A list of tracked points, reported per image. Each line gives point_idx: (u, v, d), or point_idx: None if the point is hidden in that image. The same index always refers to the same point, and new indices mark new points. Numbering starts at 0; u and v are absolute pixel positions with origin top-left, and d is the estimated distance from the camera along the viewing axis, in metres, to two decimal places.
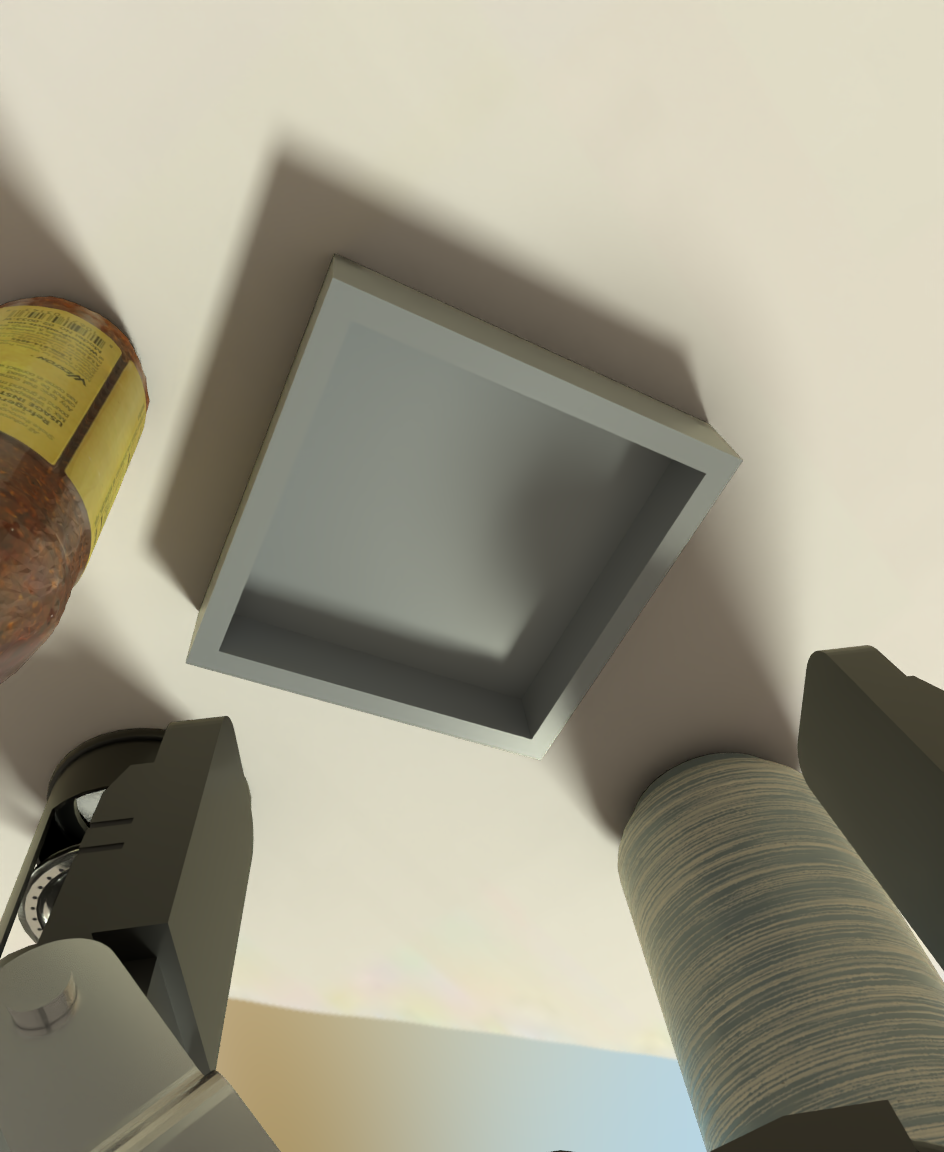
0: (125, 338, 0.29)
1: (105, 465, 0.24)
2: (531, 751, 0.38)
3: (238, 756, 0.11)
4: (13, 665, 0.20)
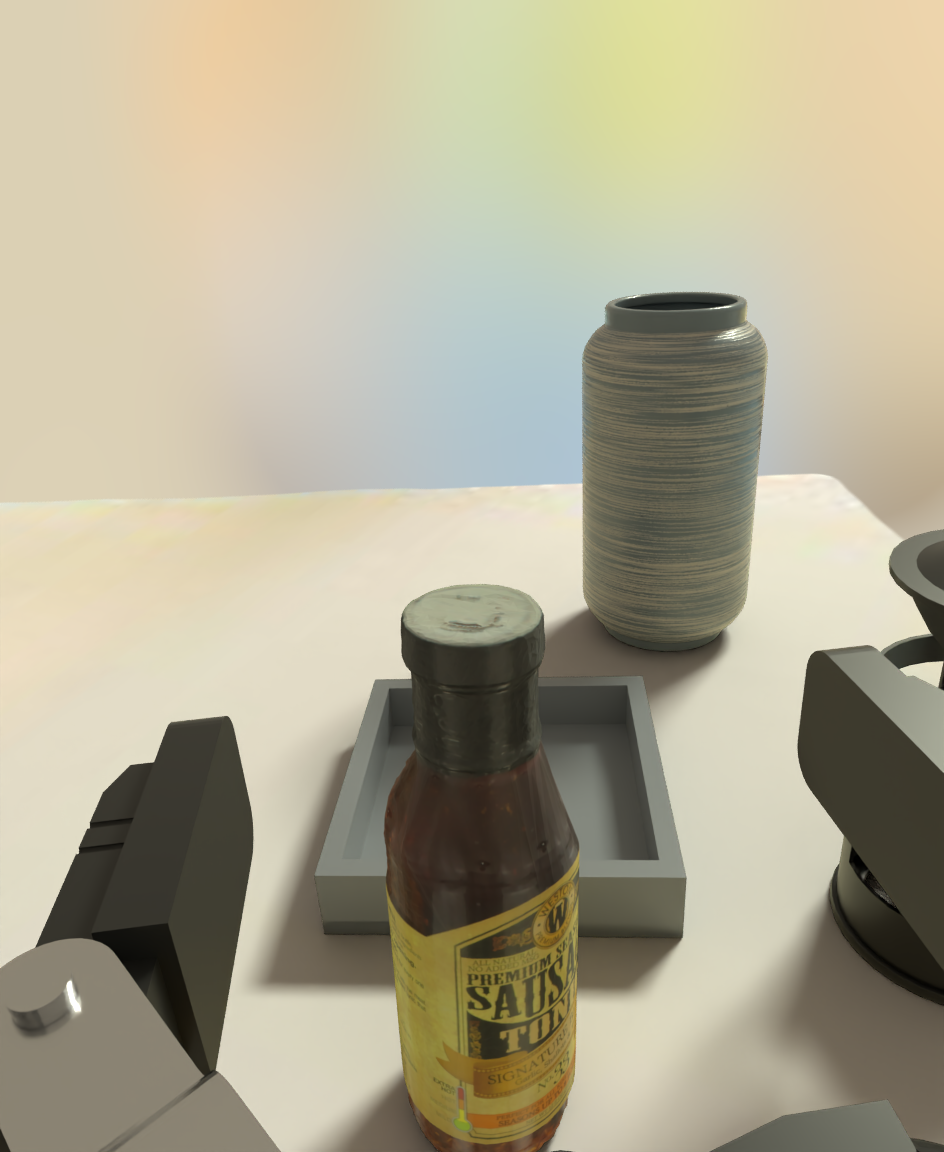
0: None
1: None
2: (637, 682, 0.50)
3: (238, 756, 0.11)
4: None
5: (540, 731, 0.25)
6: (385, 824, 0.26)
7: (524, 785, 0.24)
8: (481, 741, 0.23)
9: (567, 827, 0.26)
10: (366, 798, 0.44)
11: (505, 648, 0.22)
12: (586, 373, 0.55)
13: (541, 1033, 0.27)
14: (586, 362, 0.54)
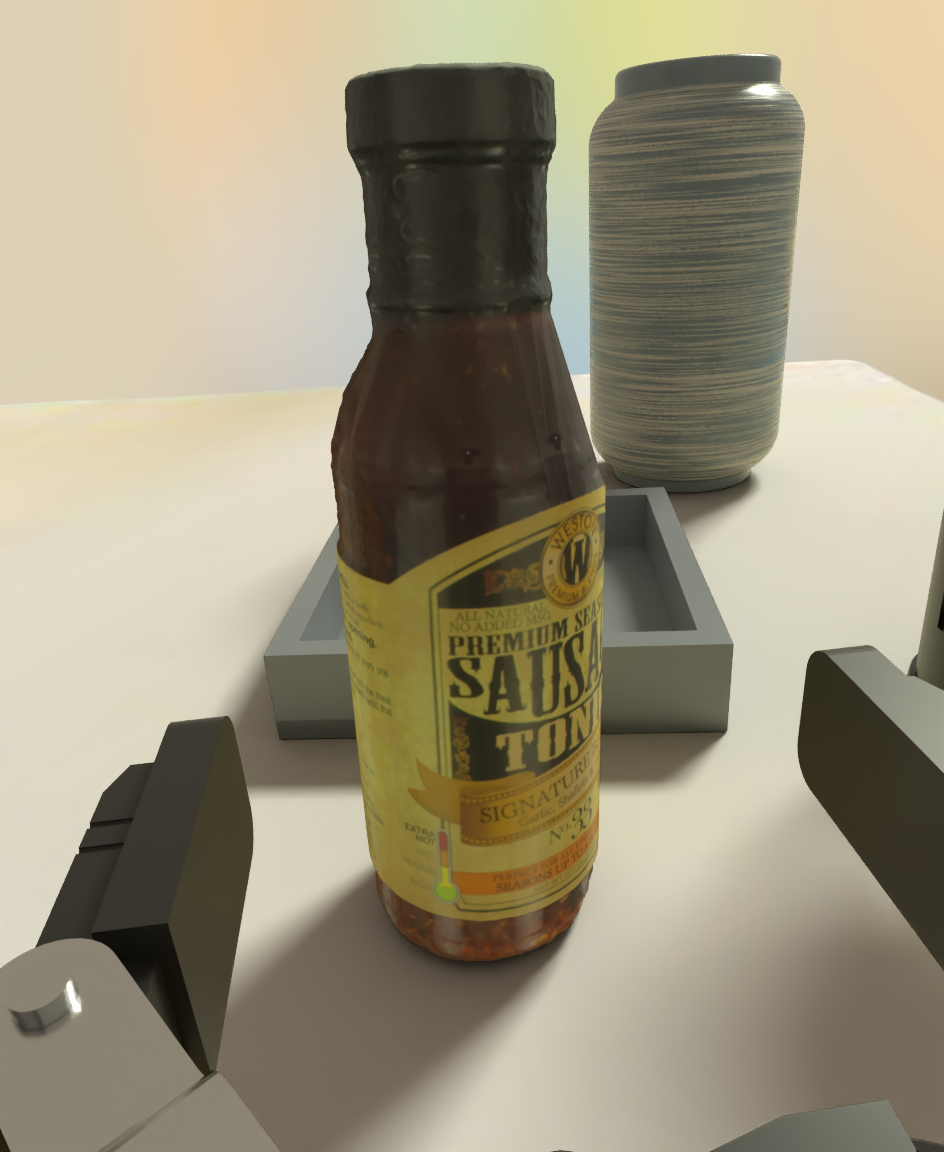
0: None
1: None
2: (658, 491, 0.42)
3: (238, 756, 0.11)
4: None
5: (550, 286, 0.17)
6: (332, 445, 0.18)
7: (528, 343, 0.17)
8: (463, 254, 0.16)
9: (589, 440, 0.18)
10: (335, 602, 0.36)
11: (498, 78, 0.15)
12: (594, 154, 0.47)
13: (555, 749, 0.19)
14: (594, 140, 0.47)
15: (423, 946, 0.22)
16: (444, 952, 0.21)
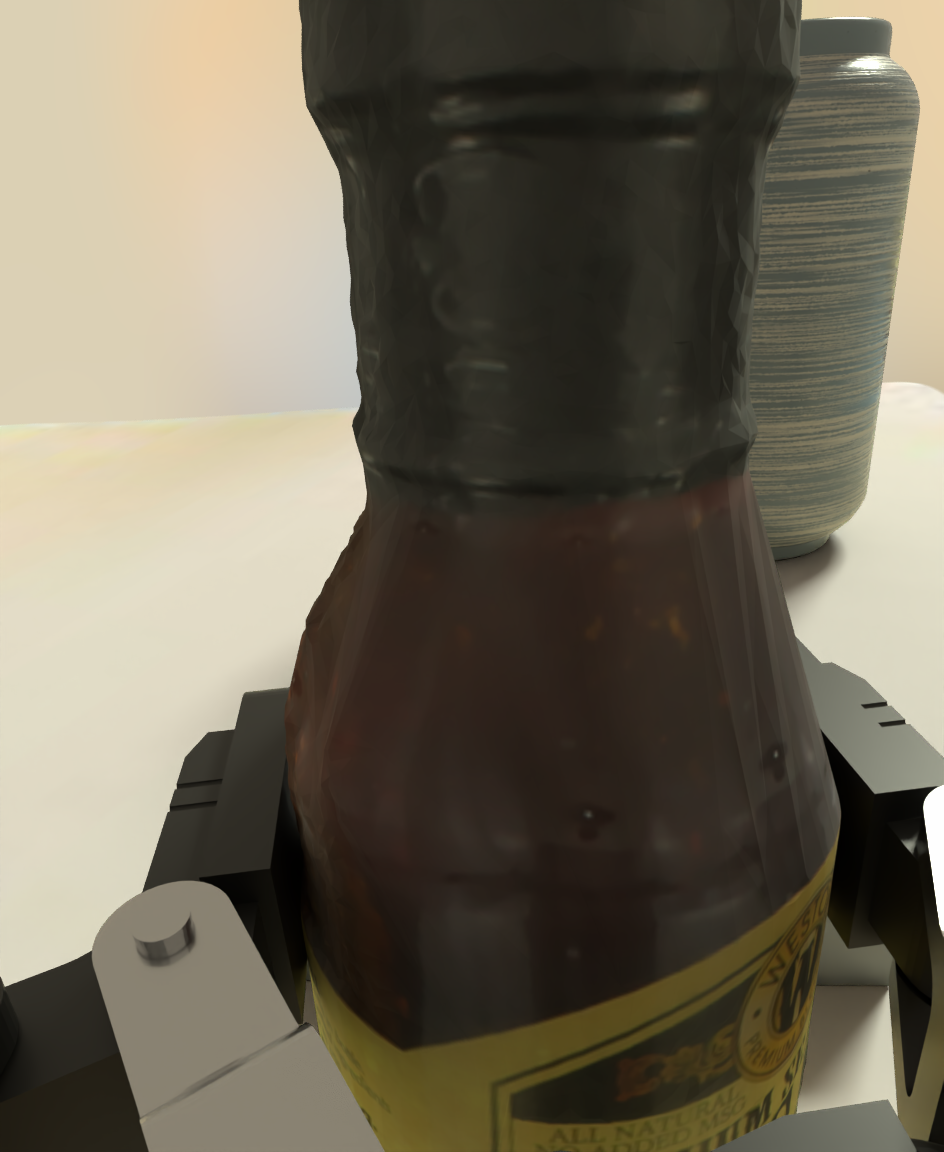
0: None
1: None
2: None
3: None
4: None
5: None
6: (285, 717, 0.09)
7: (723, 553, 0.07)
8: (588, 362, 0.06)
9: (816, 717, 0.09)
10: None
11: None
12: None
13: None
14: None
15: None
16: None
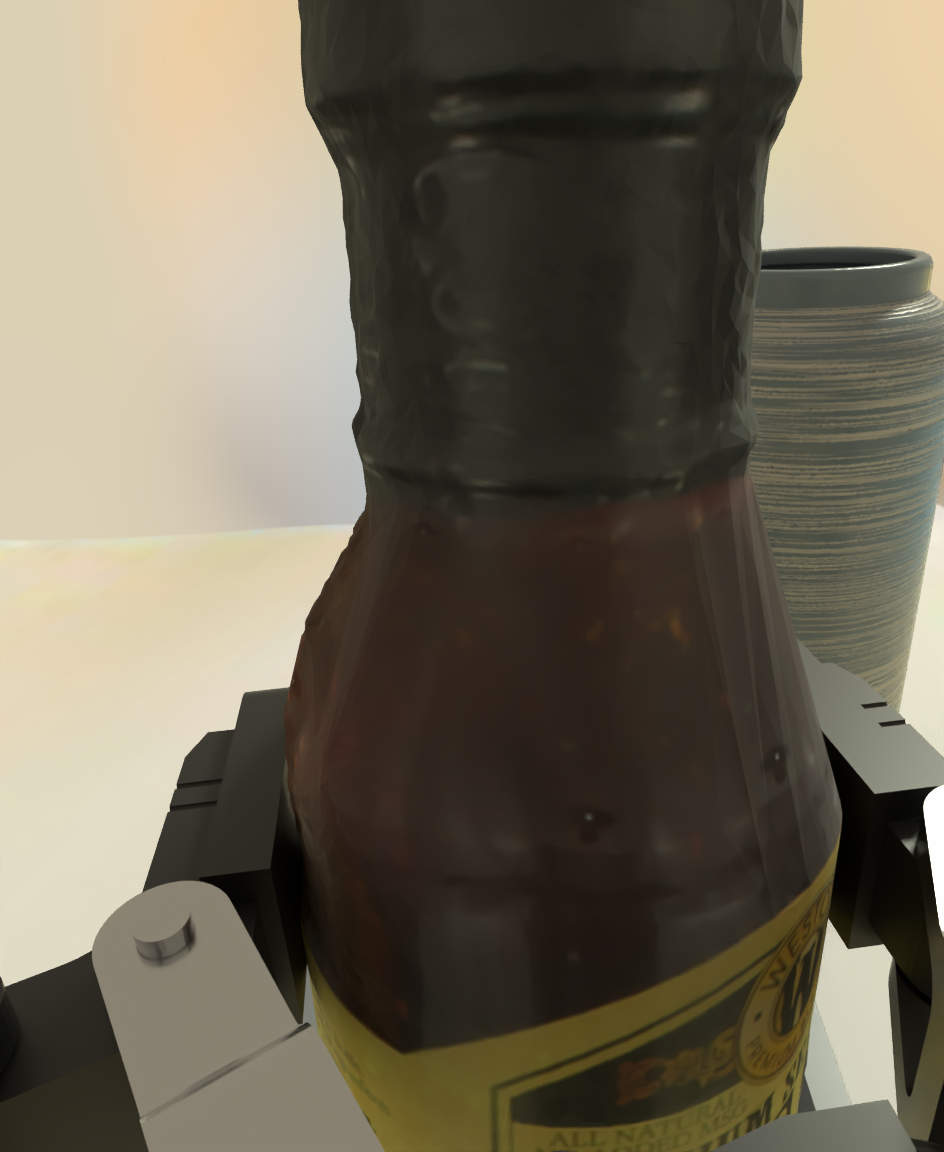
0: None
1: None
2: None
3: None
4: None
5: None
6: (285, 719, 0.09)
7: (724, 554, 0.07)
8: (588, 362, 0.06)
9: (817, 719, 0.09)
10: None
11: None
12: None
13: None
14: None
15: None
16: None
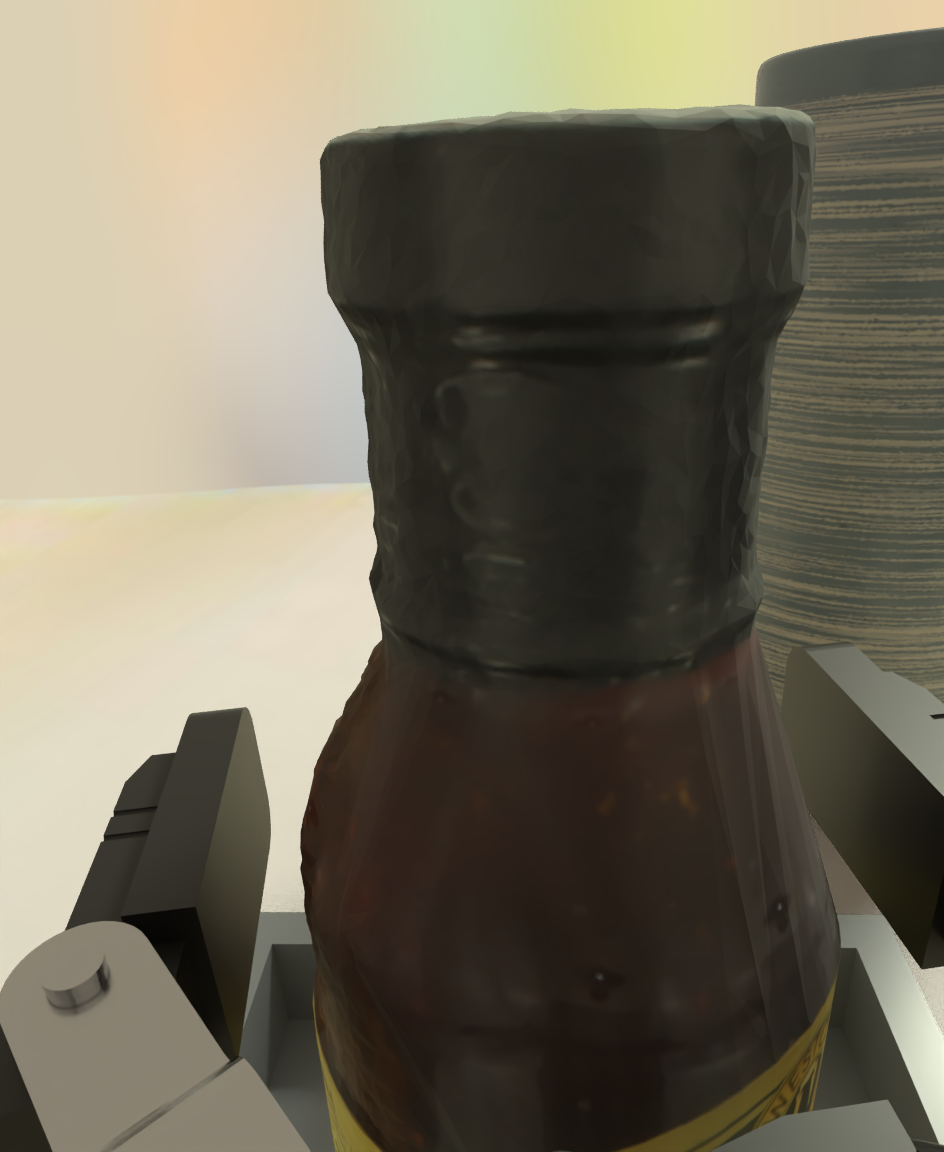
0: None
1: None
2: (879, 936, 0.20)
3: (256, 747, 0.12)
4: None
5: None
6: (302, 845, 0.09)
7: (730, 721, 0.07)
8: (602, 560, 0.07)
9: (817, 849, 0.09)
10: None
11: (722, 150, 0.06)
12: None
13: None
14: None
15: None
16: None
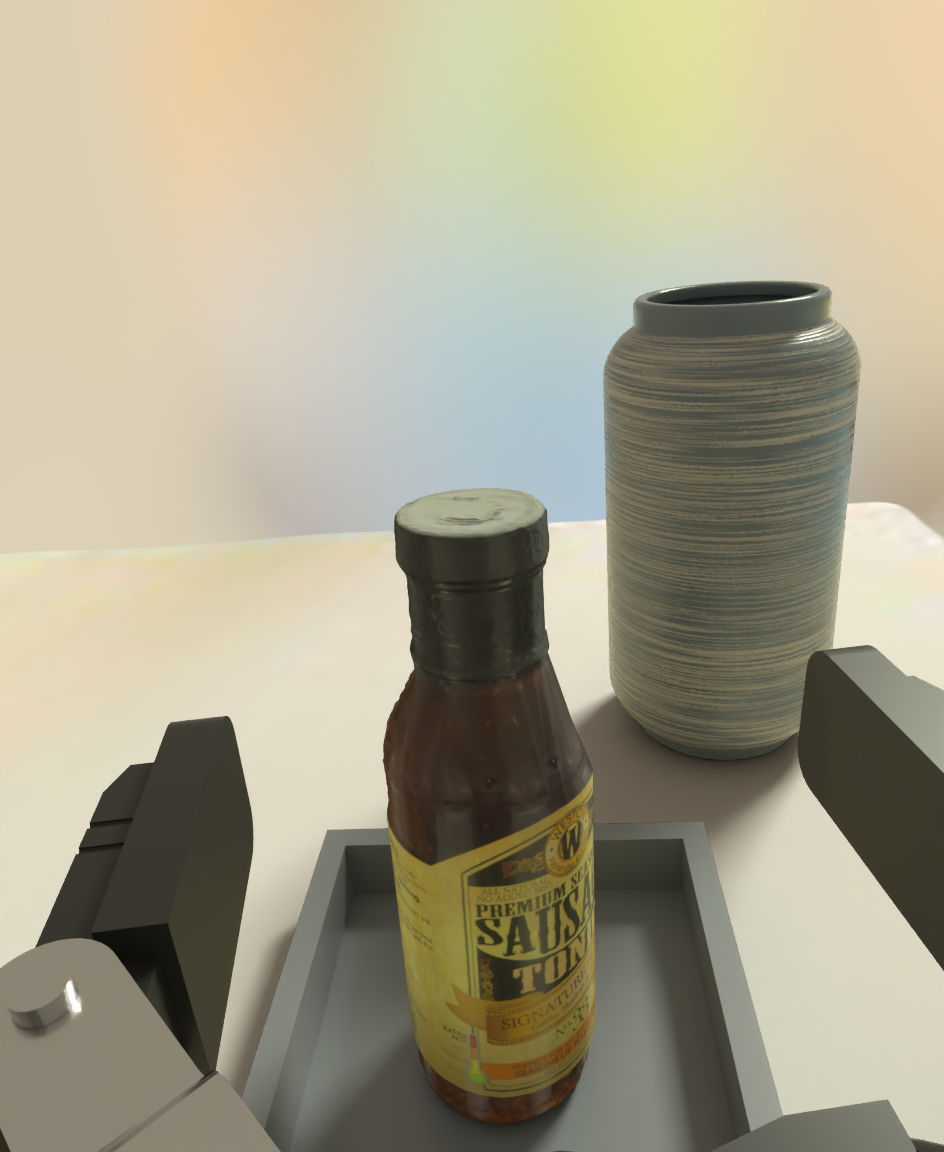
0: None
1: None
2: (697, 832, 0.35)
3: (238, 756, 0.11)
4: None
5: (547, 641, 0.23)
6: (384, 749, 0.24)
7: (531, 696, 0.23)
8: (482, 645, 0.22)
9: (579, 746, 0.24)
10: (301, 1048, 0.29)
11: (506, 540, 0.21)
12: (610, 394, 0.40)
13: (558, 973, 0.25)
14: (609, 379, 0.40)
15: (458, 1111, 0.27)
16: (474, 1117, 0.27)
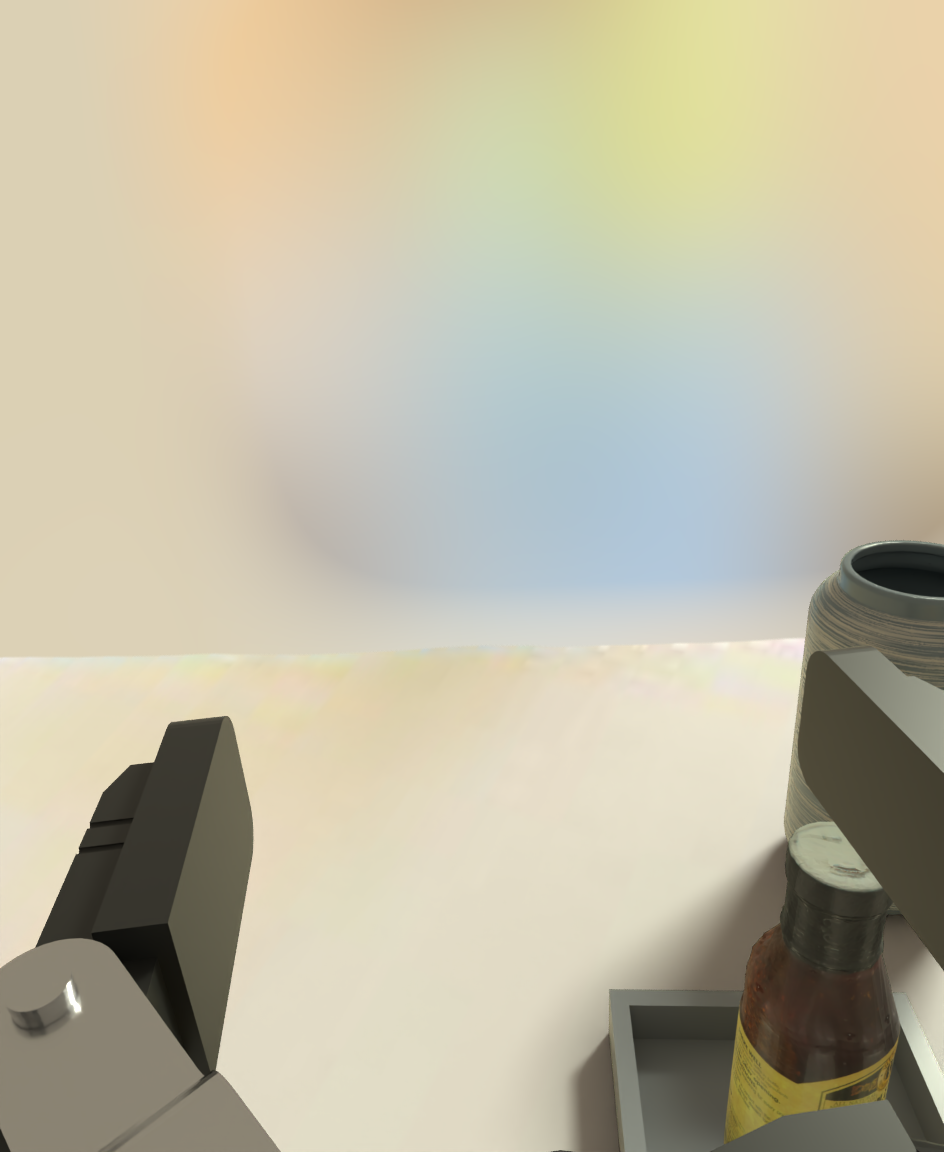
0: None
1: None
2: (903, 1003, 0.46)
3: (238, 756, 0.11)
4: None
5: None
6: (756, 996, 0.35)
7: (877, 977, 0.33)
8: (855, 950, 0.33)
9: (893, 999, 0.35)
10: None
11: None
12: (822, 641, 0.51)
13: None
14: (823, 630, 0.50)
15: None
16: None
